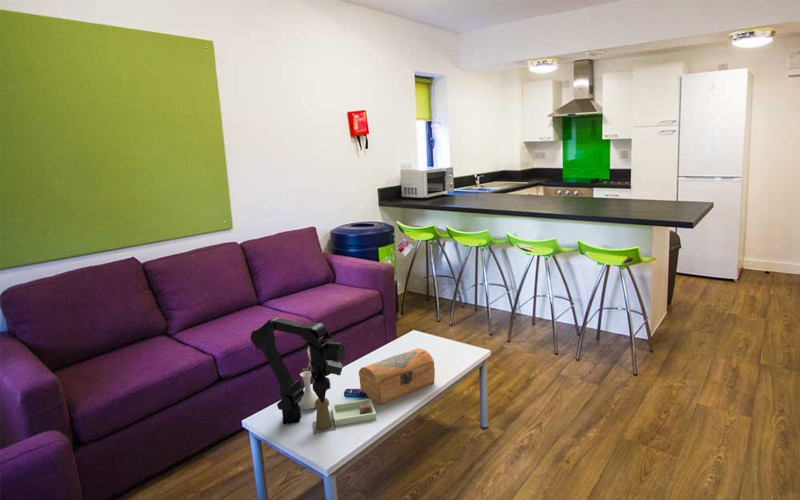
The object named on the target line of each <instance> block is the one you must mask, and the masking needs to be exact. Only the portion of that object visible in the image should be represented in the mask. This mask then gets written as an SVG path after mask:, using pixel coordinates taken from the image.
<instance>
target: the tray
mask: <svg viewBox="0 0 800 500" xmlns="http://www.w3.org/2000/svg"><path fill="white" fill-rule="evenodd" d="M365 402H369V403H370V406H371V413H367V414H361V415H360V408H359V403H365ZM331 412H332V416H333V417H332V419H334V423H335V427H336V426H342V425H347V424H353V423H358V422H366V421H372V420H377V412H376V409H375V407H374V404H373V400H372V399H370V398H365V399H359V400H353V401H347V402H340V403H333V404H331Z"/></svg>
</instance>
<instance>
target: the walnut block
mask: <svg viewBox="0 0 800 500" xmlns="http://www.w3.org/2000/svg"><path fill="white" fill-rule="evenodd" d="M359 408H360V415H361V414H367V413H371V406H370V403H369V402H365V403H359Z"/></svg>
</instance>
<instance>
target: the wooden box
mask: <svg viewBox="0 0 800 500" xmlns="http://www.w3.org/2000/svg"><path fill="white" fill-rule="evenodd" d="M435 370H436V368H435V361H434V359H433V357H432V355H431V354H430V353H429V352H428V351H427V350H425V349H423V348H420V347H419V348H415V349H412V350H409V351H406V352H403V353H400V354H395V355H393V356H390V357H387V358H385V359H382V360H380V361H376V362H375V363H374V362H373V363H371V364H369V365H366V366H364V367H361V368H360V369H359V370H358V377H359V386H360V391H361V390H363V391H364V392H365V393H366V394H367V396H368V397H367V396H366V397H367V398H368V399H371V400H372V402H375V403H376V404H377V405H379V406H382V405H385V404H386V403H389V402H391V401H394V400H396V399H398V398H400V397H403V396H406V395H409V394H411V393H413V392H416V391H419V390H420V389H423V388H425V387H428V386H430V385H433V384H434V383H435V378H436V377H435V375H436V374H435Z"/></svg>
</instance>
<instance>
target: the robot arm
mask: <svg viewBox="0 0 800 500" xmlns="http://www.w3.org/2000/svg"><path fill="white" fill-rule="evenodd" d="M276 331H278V332H283V333H286V334H291V335H295V336H299V337H301V338H302V340H303V341H305V343H304V344H303V346H304V347H306V348H308V347H309V350H310V362H311V365H310V366H309V368H310V370H309V371H311V378H312V379H313V380H312V381H311V383H312V384H311V385H312V391H314V392H315V393H316V395H317V396H318V398H319V400H320V401H321V403H324V401H325V398H326V393H327V391H328V390H330V389H331V380H330V378H329V377H327V376H329V374H331V375H336V376H341V375H342V371H343V364H342V363H341V362H343V361H344V359H345V357H346V348H345V347H344V345H342V342H341V341H340V342H339V341H333V340H334V339H333V336H332V335H331V334H330V333H329V331H328V330H327V328H326V327H325V324H323V323H322V322H306V323H303V322H299V321H296V320H295V321H294V320H291V319H285V318H281V317H279V316H273V317H272V318H270V319H269V320H267V321H266V322H265V323H264V324H263V325H262V326H260V327H258V328H256V329H254V330H252V332H251V333H250V337H249V338H250V340H251V342H252V344H253V345H254V347H255V348H256V349H258V350H259V351H260V352H262V354H263V355H264V356H265V359H266V361H267V362H268V364H269V366H270V368H271V370H272V372H273V374H274V375H275V377H276V380H277V382H278V384H279V386H280V387H279V394H280V398H281V399H280V400H279V402H278V403H277V404H276V405H277V408H278V410H279V411H281V414H282V424H283V425H284V426H285V425H290V424H296V423H300V422H301V418H302V414H301V413H302V412H301V408H300V405H299V406H298V403H299V402H300V401H301V399H302V398H303V396H304V390H305V387H304V386H303V385H302V383H301V381H300V380H299V379H298V380H295V379H293V377H292V376H291V374H290V372H289V370H288V368H287V366H286V363H284V360H283V358H282V356H281V355H280V352H279V351H278V349H277V347H276V336H275V334H274V332H276ZM322 338H323V339H322ZM320 340H321V341H320Z"/></svg>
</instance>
